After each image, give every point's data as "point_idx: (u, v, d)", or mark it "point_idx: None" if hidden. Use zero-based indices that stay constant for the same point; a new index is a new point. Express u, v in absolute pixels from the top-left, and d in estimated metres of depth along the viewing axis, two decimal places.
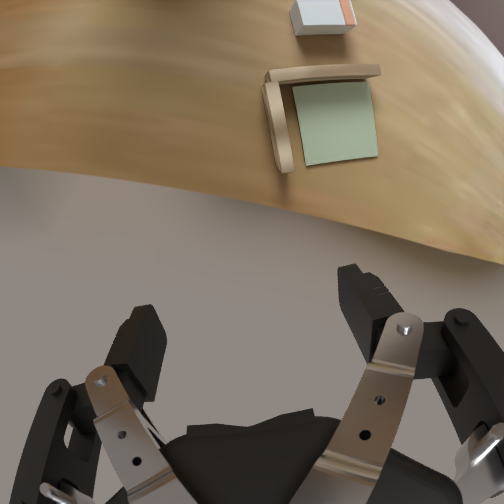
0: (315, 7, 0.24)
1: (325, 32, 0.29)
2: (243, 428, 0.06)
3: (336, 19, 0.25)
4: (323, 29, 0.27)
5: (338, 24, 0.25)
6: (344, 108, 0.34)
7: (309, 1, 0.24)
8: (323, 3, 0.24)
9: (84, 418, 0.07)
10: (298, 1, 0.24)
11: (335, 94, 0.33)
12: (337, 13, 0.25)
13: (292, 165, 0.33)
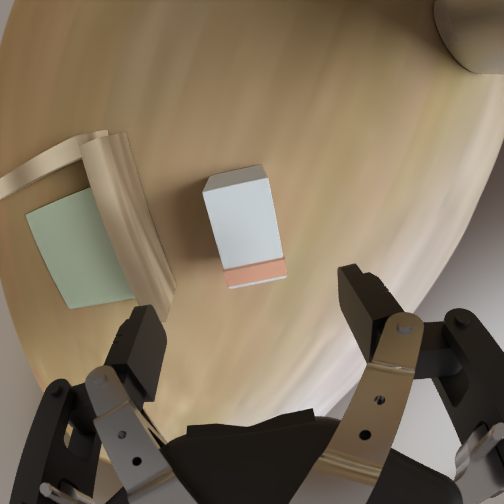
0: (251, 213, 0.18)
1: None
2: (243, 428, 0.06)
3: (231, 253, 0.19)
4: None
5: (221, 256, 0.19)
6: (105, 261, 0.24)
7: (264, 203, 0.18)
8: (265, 229, 0.18)
9: (84, 418, 0.07)
10: (261, 181, 0.17)
11: None
12: (246, 255, 0.19)
13: None
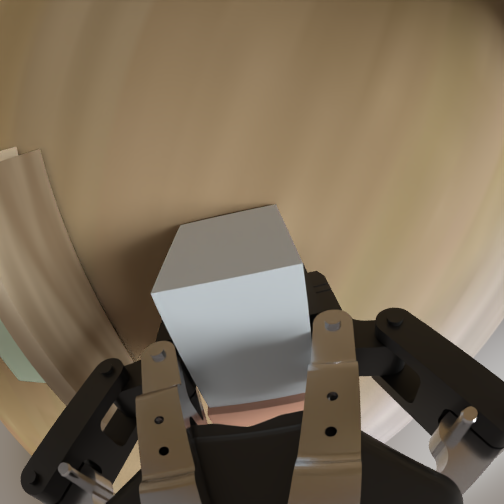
0: (262, 333, 0.08)
1: None
2: (243, 428, 0.06)
3: (220, 389, 0.09)
4: None
5: (201, 392, 0.09)
6: None
7: (291, 314, 0.08)
8: (287, 357, 0.09)
9: (131, 403, 0.08)
10: (286, 272, 0.07)
11: None
12: (250, 391, 0.09)
13: None
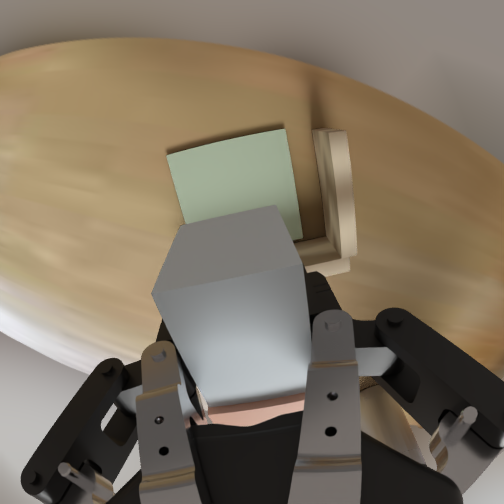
0: (262, 333, 0.08)
1: None
2: (243, 428, 0.06)
3: (221, 389, 0.09)
4: None
5: (202, 392, 0.09)
6: None
7: (290, 314, 0.08)
8: (287, 356, 0.09)
9: (131, 403, 0.08)
10: (286, 272, 0.07)
11: None
12: (250, 391, 0.09)
13: (331, 141, 0.21)
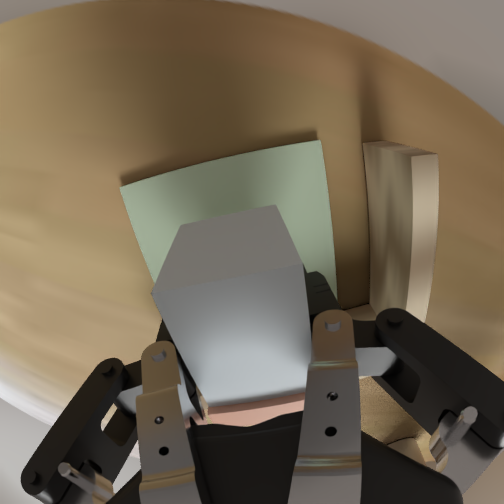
0: (262, 333, 0.08)
1: None
2: (243, 428, 0.06)
3: (220, 389, 0.09)
4: None
5: (202, 391, 0.09)
6: None
7: (290, 314, 0.08)
8: (287, 356, 0.09)
9: (131, 403, 0.08)
10: (286, 272, 0.07)
11: None
12: (250, 391, 0.09)
13: (414, 174, 0.10)
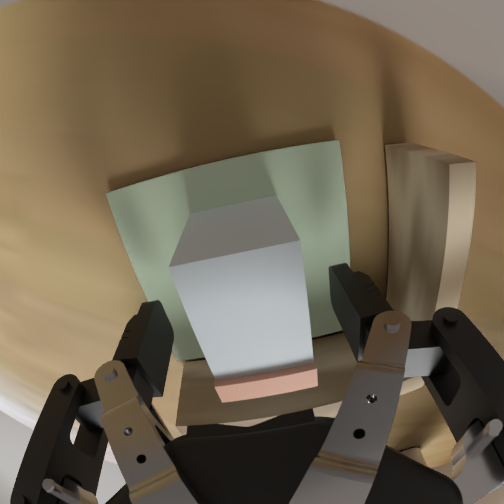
0: (265, 304, 0.09)
1: None
2: (243, 428, 0.06)
3: (227, 361, 0.10)
4: None
5: (209, 364, 0.10)
6: None
7: (290, 286, 0.09)
8: (287, 328, 0.10)
9: (92, 415, 0.07)
10: (286, 248, 0.09)
11: None
12: (253, 362, 0.11)
13: (452, 184, 0.08)
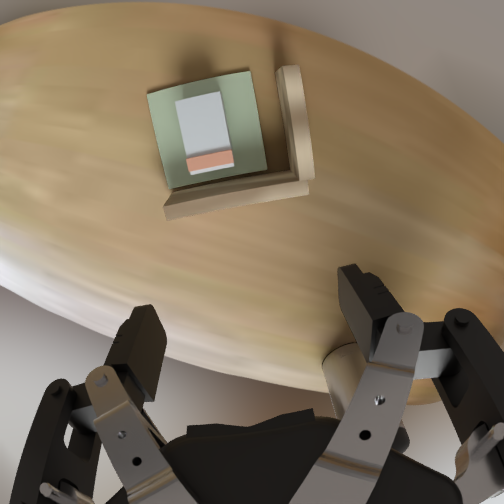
0: (208, 115, 0.23)
1: None
2: (243, 428, 0.06)
3: (192, 145, 0.24)
4: None
5: (185, 147, 0.24)
6: None
7: (217, 108, 0.23)
8: (217, 127, 0.24)
9: (84, 418, 0.07)
10: (215, 94, 0.22)
11: None
12: (204, 146, 0.24)
13: (285, 73, 0.22)
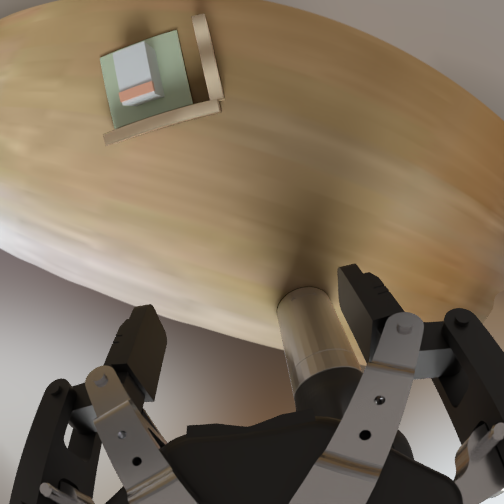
0: (135, 59, 0.25)
1: None
2: (243, 428, 0.06)
3: (124, 82, 0.26)
4: None
5: (118, 84, 0.26)
6: None
7: (141, 53, 0.25)
8: (141, 67, 0.26)
9: (84, 418, 0.07)
10: (140, 43, 0.24)
11: (147, 105, 0.32)
12: (132, 82, 0.26)
13: (193, 21, 0.24)
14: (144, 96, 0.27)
